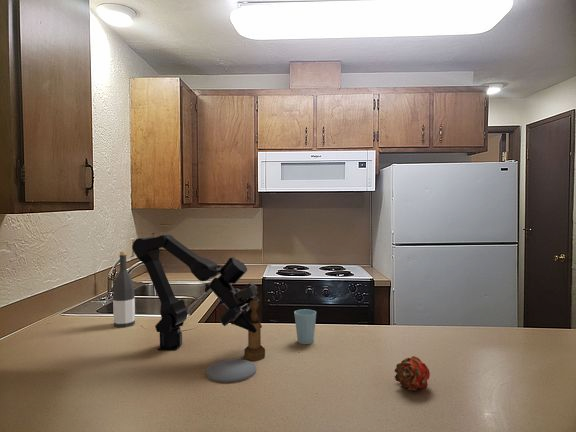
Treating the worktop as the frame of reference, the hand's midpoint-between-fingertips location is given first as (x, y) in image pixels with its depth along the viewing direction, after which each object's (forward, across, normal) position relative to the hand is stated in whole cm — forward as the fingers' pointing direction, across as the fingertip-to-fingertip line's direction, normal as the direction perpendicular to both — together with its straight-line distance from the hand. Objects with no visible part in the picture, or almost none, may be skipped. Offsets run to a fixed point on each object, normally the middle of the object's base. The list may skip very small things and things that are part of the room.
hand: (258, 329), depth 125 cm
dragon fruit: (+39, -8, -26) cm, 48 cm away
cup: (+14, +18, -1) cm, 22 cm away
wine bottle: (-40, +17, +53) cm, 69 cm away
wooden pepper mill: (+5, 0, +7) cm, 9 cm away
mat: (+4, -13, +8) cm, 16 cm away
